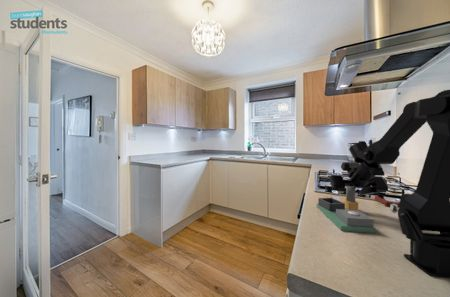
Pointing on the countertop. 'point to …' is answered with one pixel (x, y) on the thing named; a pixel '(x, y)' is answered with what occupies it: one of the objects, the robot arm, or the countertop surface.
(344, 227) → the board
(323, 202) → the frame
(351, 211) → the grey button box
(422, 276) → the countertop surface
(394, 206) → the pliers
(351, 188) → the plug
